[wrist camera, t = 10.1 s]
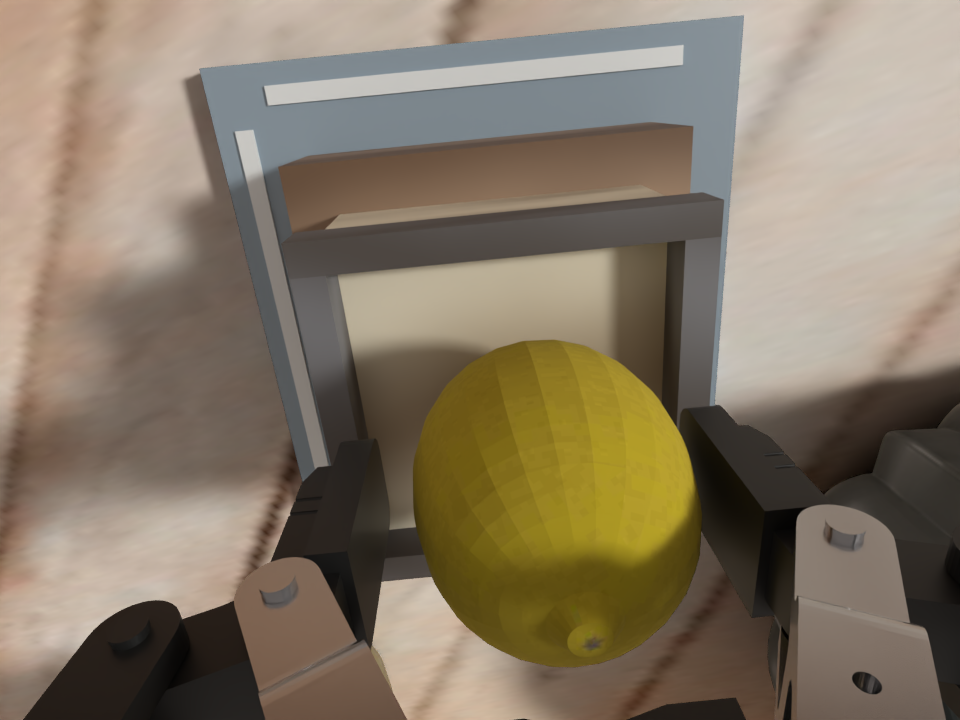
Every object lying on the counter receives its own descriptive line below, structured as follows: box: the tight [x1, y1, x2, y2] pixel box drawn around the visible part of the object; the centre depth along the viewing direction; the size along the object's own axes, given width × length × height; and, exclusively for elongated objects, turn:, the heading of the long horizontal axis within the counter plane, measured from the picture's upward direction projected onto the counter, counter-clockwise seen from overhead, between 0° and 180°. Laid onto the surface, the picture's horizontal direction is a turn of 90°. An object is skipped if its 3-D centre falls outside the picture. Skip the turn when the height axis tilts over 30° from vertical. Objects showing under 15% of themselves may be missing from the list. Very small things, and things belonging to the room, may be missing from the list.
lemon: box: [413, 340, 702, 667], centre depth 12 cm, size 6×6×8 cm
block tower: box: [278, 122, 724, 582], centre depth 19 cm, size 12×12×9 cm
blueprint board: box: [199, 15, 744, 482], centre depth 24 cm, size 18×18×1 cm
